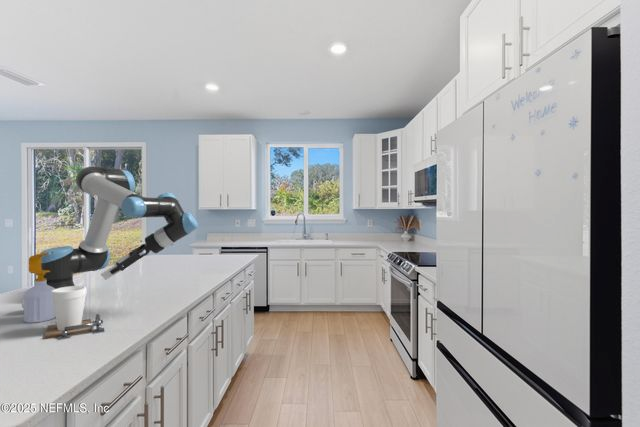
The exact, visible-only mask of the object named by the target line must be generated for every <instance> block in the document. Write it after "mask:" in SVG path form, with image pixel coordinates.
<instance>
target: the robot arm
mask: <svg viewBox="0 0 640 427" xmlns="http://www.w3.org/2000/svg"><path fill="white" fill-rule="evenodd" d="M75 183H76V186H77V187H78V189H79V190H81V191H82V192H84V193H86V194H87V195H90V196H97V197H98V199H97V201H96V205H95V208H94V210H93V214H92V217H91V219H90V224H89V225H88V229H87V232H86V235H85V239H84V240H81V241H80V242H79V245H78V248H73V247H74V246H71V245H65V246H56V247H51V248H46V249H44V250H42V251H41V252H40V253H39V254H41V253H49V254H47V255H44V256H42V258H41V269H42V270H49V271H50V272H46V274H45V275H44V278H46V280H47V282H46V284H47V285H49V286H52V287H53V288H55V289H57V288H62V287H68V286H76V285H75V283H74V278H73V277H74V274H80V273H87V272H97V271H100V270H103V269H105V268H106V267H107V266H108V265H109V263H110V261H111V251H110V249H109V246H108V245H107V244H106V243H107V241H108V239H109V236H110V232H111V230H112V226H113V224H114V221H115V217H116V214H117V212H118V209H119V208H120V209H121V213H123V215H124V216H125V217H127V218H134V219H139V218H164V220H165V222H166V223H167V224H166V225H164V226H162V227H160V228H159V229H157V230H155V231H154V233H151V234H149V235H148V236H145V238H144V242H145V243H142V244H141V245H140V246H138V247H136V248H134V249H132V250H131V251H130V252H129V253H126V254H125V255H123V256H122V257H119V258H118V259H117V260H115V261H114V262H112V264H113V266H112V267H110V268H108V269H107V270H105V271H103V272H102V273H100V275H101V277H102V278H103V279H104V280H105V281H107V280H108V279H110V278H112V277H113V276H115V275H116V274H118V273H120V272H123V271H124V270H126V269H127V268H128V267H130V266H131V265H133V264H134V263H136V262H137V261H139V260H141V259H142V258H143V257H145V256H146V257H147V255H149V253H150V252H152V253H153V254H158V253H160V252H162V251H163V250H164V249H165V248H168V247H169V246H173V245H174V243H176V242H177V241H179V240H181V239H182V238H184V237H186V236H188V235H190V234H191V233H192V232H194V231H195V230H196V229H198V228H199V224H198V222H197V220H196V218H195V217H194V216H193V214H192V213H190V212H185V211H184V210H183V208H182V206H181V204H180V203H179V200H178V198H177V197H176V196H175V194H174V193H171V192H165V193H161V194H159V195H158V196H157V197H145V196H142V195H140V194H138V193H136V192H134V191H135V188H136V181H135V178H134V176H133V174H132V173H131V172H130V171H129V170H126V169H121V168H113V167H103V166H95V165H94V166H93V165H92V166H87V167H84V168H82V169H81V170H80V171H79V172H77V174H76V176H75Z"/></svg>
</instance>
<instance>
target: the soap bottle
mask: <svg viewBox="0 0 640 427" xmlns="http://www.w3.org/2000/svg"><path fill="white" fill-rule="evenodd" d="M40 253H41V252H40ZM40 253H37V254H34V255H31V256H29V258H28V272H29V273H30V274H35V276H37V278H35V279H34V285H33V286H32V287H30V288H29V289H27V290H26V291H25V293H24V295H23V300H24V309H23V321H24V323H26V324H27V323H28V324H36V323H43V322H47V321H51V320H53V319H56V316H55V310H54V304H53V299H52V290H54V289H55V288H53V287H52V286H49V285H47V284H46V282H47V280H46V278H44V275H45V274H46V272H50V271H49V270H42V269H41V258H42V256H44V255H47V254H49V253H41V254H40Z"/></svg>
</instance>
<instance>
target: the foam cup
mask: <svg viewBox="0 0 640 427" xmlns="http://www.w3.org/2000/svg"><path fill="white" fill-rule="evenodd" d="M87 290H88V288H87V285H86V286H85V285H75V286H68V287H62V288H57V289H54V290H52V299H53V304H54V310H55V316H56V317H55V322H56V324H57V328H58V330H60V331H64V330H65V327H69V326H75V325H81V323H82V320H83V316H84V309H85V304H86V302H85V301H86V295H87V294H88V293H87V292H88V291H87Z"/></svg>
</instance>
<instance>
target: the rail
mask: <svg viewBox="0 0 640 427" xmlns="http://www.w3.org/2000/svg"><path fill="white" fill-rule="evenodd" d="M102 324H104V319H101V315H100V313H97V314H95V320H93V321H92V322H91V323H87V324H81V325H75V326H69V327H65V330H64V331H62V335H59V337H57V338H58V339H57V340H58V341H60V340H65V339H71V336H72V335H71V334H67V331H68V330H74V329H80V328H86V327H91V328H92V327H95V328H96V329H93V334H98V333H104V332H105V327H102Z"/></svg>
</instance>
